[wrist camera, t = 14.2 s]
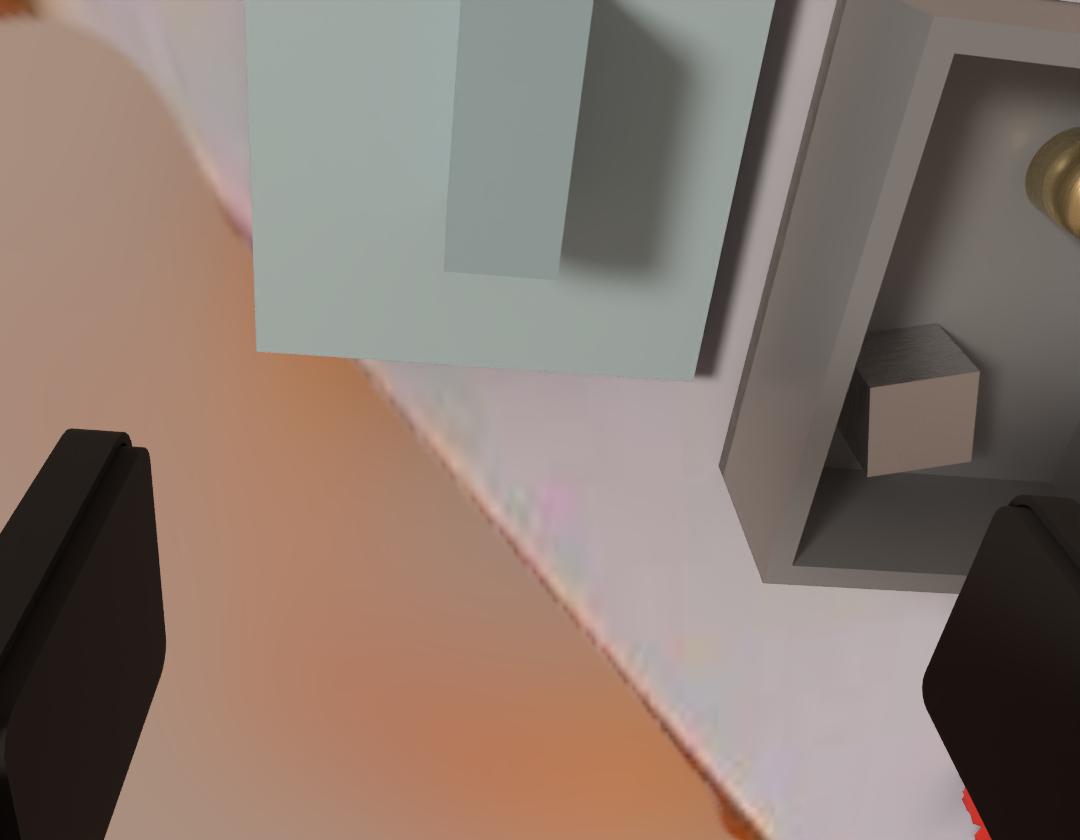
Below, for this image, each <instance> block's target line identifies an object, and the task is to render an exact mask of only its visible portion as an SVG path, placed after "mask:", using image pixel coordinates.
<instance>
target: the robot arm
mask: <svg viewBox="0 0 1080 840" xmlns="http://www.w3.org/2000/svg"><path fill="white" fill-rule="evenodd" d="M165 652H166V635H165V623H164V611H163V600H162V589H161V577H160V566H159V554H158V543H157V532H156V521H155V509H154V497H153V487H152V475H151V463H150V456H149V452H148V450H147V449H146V448H143V447H132V443H131V440H130V437H129V435H128V434H127V433H125V432H113V431H99V430H85V429H84V430H83V429H68V430H66V431H65V433H64V434H63V435H62V437H61V438H60V440H59V441H58V443H57V444H56V446H55V448H54V449H53V451H52V452H51V454H50V455H49V457H48V459H47V460H46V462H45V463H44V465H43V467H42V468H41V470H40V471H39V473H38V475H37V476H36V478H35V479H34V481H33V483H32V484H31V486H30V487H29V489H28V491H27V492H26V494H25V495H24V497H23V498H22V500H21V502H20V503H19V505H18V506H17V508H16V510H15V511H14V513H13V514H12V516H11V518H10V519H9V521H8V522H7V524H6V526H5V527H4V529H3V530H2V532H1V533H0V840H104V838H105V835H106V832H107V829H108V826H109V823H110V820H111V817H112V815H113V812H114V809H115V806H116V803H117V800H118V797H119V795H120V791H121V788H122V786H123V783H124V780H125V777H126V774H127V771H128V769H129V766H130V763H131V760H132V757H133V754H134V751H135V749H136V746H137V743H138V740H139V737H140V734H141V731H142V728H143V725H144V723H145V720H146V717H147V714H148V711H149V708H150V705H151V702H152V699H153V697H154V694H155V691H156V688H157V685H158V682H159V679H160V677H161V673H162V670H163V664H164V660H165ZM922 692H923V699H924V704H925V706H926V709H927V711H928V713H929V715H930V717H931V719H932V721H933V723H934V725H935V727H936V729H937V731H938V733H939V735H940V737H941V739H942V741H943V743H944V745H945V747H946V749H947V751H948V753H949V755H950V757H951V759H952V761H953V763H954V765H955V767H956V769H957V771H958V773H959V775H960V777H961V779H962V781H963V783H964V785H965V787H966V789H967V791H968V793H969V795H970V797H971V799H972V801H973V803H974V805H975V807H976V809H977V811H978V813H979V815H980V817H981V819H982V821H983V823H984V825H985V827H986V829H987V832H988V834H989V836H990V838H991V840H1080V504H1079V503H1078V502H1076V501H1075V500H1074V499H1071V498H1067V497H1052V496H1038V495H1019V496H1016V497H1015V498H1014V499H1013V500H1012V501H1010V503H1009V505H1008V506H1003V507H1000V508H999V509H998V510H997V511H996V512H995V514H994V516H993V517H992V520H991V522H990V524H989V527H988V529H987V531H986V534H985V536H984V538H983V540H982V543H981V545H980V547H979V550H978V552H977V554H976V557H975V559H974V561H973V564H972V566H971V568H970V570H969V573H968V575H967V577H966V580H965V582H964V584H963V587H962V589H961V591H960V593H959V596H958V598H957V600H956V603H955V605H954V607H953V610H952V612H951V614H950V617H949V619H948V621H947V623H946V626H945V628H944V630H943V633H942V635H941V637H940V640H939V642H938V644H937V647H936V649H935V651H934V653H933V656H932V658H931V660H930V663H929V665H928V667H927V670H926V672H925V675H924V678H923V685H922Z"/></svg>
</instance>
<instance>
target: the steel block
mask: <svg viewBox="0 0 1080 840" xmlns="http://www.w3.org/2000/svg"><path fill="white" fill-rule="evenodd" d="M979 376H980V371H979V370H978V369H977V367H976V366H975V365H974V364H973V363H972V362H971V361H970V360H969V358H968V357H967V356H966V355H965V354H964V353H963V352H962V351H961V349H960V348H959V347H958V346H957V345H956V344H955V343H954V342H953V340H952V339H951V338H950V337H949V336H948V335H947V334H946V333H945V331H944V330H943V329H942V328H941V327H940V326H939V325H938V324H937V323H932V324H926V325H919V326H913V327H906V328H900V329H893V330H887V331H880V332H874V333H867V334H865V337H864V340H863V343H862V346H861V350H860V353H859V356H858V359H857V362H856V365H855V369H854V372H853V375H852V378H851V381H850V384H849V387H848V391H847V394H846V397H845V400H844V403H843V406H842V410H841V413H840V416H839V419H838V422H837V427H838V428H839V430H840V432H841V433H842V435H843V437H844V439H845V440H846V442H847V444H848V445H849V447H850V449H851V450H852V452H853V454H854V456H855V457H856V459H857V461H858V462H859V464H860V466H861V467H862V469H863V471H864V473H865V474H866V476H867V477H872V476H879V475H886V474H892V473H899V472H906V471H912V470H919V469H925V468H932V467H939V466H945V465H952V464H958V463H965V462H971V457H972V447H973V437H974V427H975V417H976V406H977V396H978V386H979Z"/></svg>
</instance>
